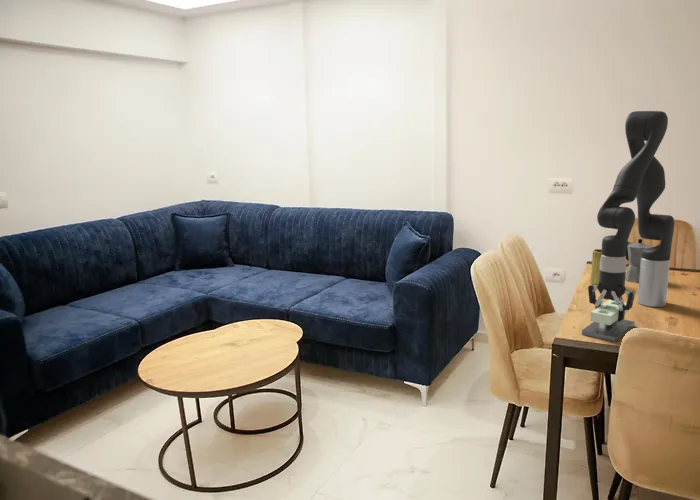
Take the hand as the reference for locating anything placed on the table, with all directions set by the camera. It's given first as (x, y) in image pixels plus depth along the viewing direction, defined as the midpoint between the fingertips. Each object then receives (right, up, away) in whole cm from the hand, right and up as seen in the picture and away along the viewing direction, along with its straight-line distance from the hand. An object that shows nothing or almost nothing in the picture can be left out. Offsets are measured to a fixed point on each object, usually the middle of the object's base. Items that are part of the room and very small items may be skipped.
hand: (609, 318), depth 172 cm
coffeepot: (+38, +9, +56) cm, 68 cm away
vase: (+21, +8, +52) cm, 57 cm away
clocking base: (0, -4, +1) cm, 4 cm away
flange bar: (0, +1, 0) cm, 1 cm away
